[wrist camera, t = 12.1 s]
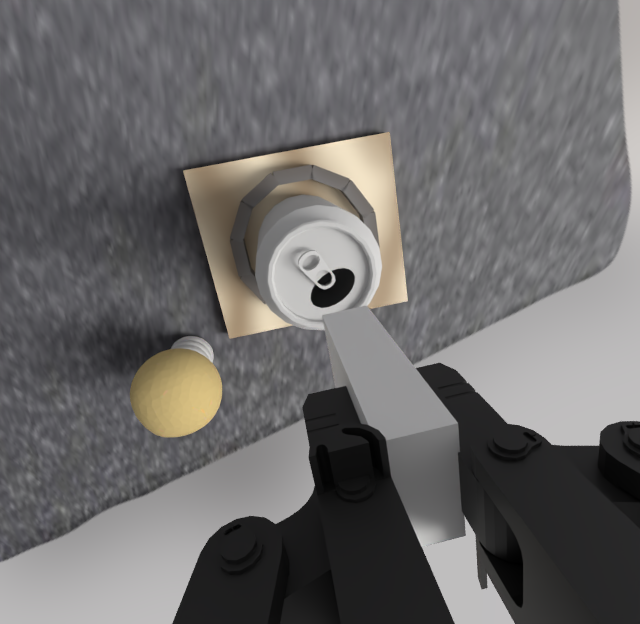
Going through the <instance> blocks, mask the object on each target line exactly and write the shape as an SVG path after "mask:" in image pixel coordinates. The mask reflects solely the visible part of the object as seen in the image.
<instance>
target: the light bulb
mask: <svg viewBox="0 0 640 624" xmlns="http://www.w3.org/2000/svg"><path fill="white" fill-rule="evenodd" d="M213 357H214V355H213V350H212V348H211V346H210V345H209V344H208V342H206V341H205V340H204V339H202V338H199V337H196V336H186V337H183V338H181V339H179V340H177V341H176V342H175V343H174V344H173V346H172V347H171V349H169V350H165V351H162V352H160V353H158V354H156V355H154V356H152V357H151V358H150V359H148V360H147V361H146V362H145V363H144V364H143V365H142V366H141V367H140V368H139V370H138V371H137V373H136V374H135V377H134V379H133V381H132V384H131V390H130V401H131V405H132V408H133V410H134V413H135V415H136V417H137V418H138V419H139V421H140V422H141V423H142V424H143V426H144V427H146V428H147V429H148V430H150V431H151V432H152V433H154V434H156V435H158V436H162V437H179V436H184V435H187V434H191V433H193V432H195V431H197V430H199V429H200V428H202V427H204V426H205V425H206V424H207V423H208V422H209V421H210V420H211V419H212V418H213V417H214V415H215V414H216V412H217V410H218V408H219V406H220V402H221V398H222V383H221V378H220V375H219V373H218V371H217V369H216V368H215V366H214V365H213V363H212V362H213Z"/></svg>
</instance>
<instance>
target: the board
mask: <svg viewBox="0 0 640 624" xmlns="http://www.w3.org/2000/svg"><path fill="white" fill-rule="evenodd" d="M183 173H184V176H185V180H186V183H187V187H188V191H189V194H190V198H191V201H192V205H193V209H194V212H195V216H196V219H197V223H198V227H199V230H200V234H201V237H202V241H203V245H204V248H205V252H206V255H207V259H208V263H209V266H210V270H211V273H212V277H213V280H214V284H215V288H216V291H217V295H218V298H219V302H220V306H221V309H222V313H223V316H224V320H225V324H226V327H227V331H228V334H229V338H235V337H240V336H245V335H249V334H254V333H259V332H263V331H268V330H273V329H278V328H282V327H287V326H292V324H289V323H286V322H285V321H283V320H282V319H281V318H280V317H278V316H277V315H276V314H275V313H273V312H272V311H271V310H270V309H269V307H268V305H267V304H266V302H265V301H264V299H263V298H262V296H261V295H260V292H259V288H258V284H257V281H256V277H255V270H256V255H257V245H258V235H259V230H260V227H261V225H262V222H263V220H264V217H265V216H266V215H267V214H268V213H269V211H270V210H271V209H272V208H273V207H274V206H275V205H276V204H278V203H280V202H281V201H283V200H285V199H286V198H289V197H293V196H298V195H302V194H303V195H312V196H318V197H321V198H323V199H325V200H327V201H329V202H331V203H333V204H335V205H337V206H339V207H340V208H342V209H344V210H346V211H348V212H350V213H352V214H353V215H355V216H357V217H358V218H359V219H360V220H361V221H362V222H363V223H364V224H365V225H366V226H367V227H368V228H369V229H370V230H371V232H372V234H373V236H374V238H375V240H376V242H377V244H378V246H379V249H380V255H381V262H382V270H381V276H380V283H379V286H378V288H377V290H376V292H375V294H374V296H373V298H372V300H371V302H370V303H369V304H368V308H369V309H372V308H377V307H382V306H386V305H391V304H396V303H400V302H405V301H408V299H407V290H406V281H405V271H404V262H403V253H402V243H401V234H400V225H399V215H398V206H397V197H396V187H395V178H394V169H393V159H392V150H391V141H390V132H387V133H381V134H376V135H371V136H365V137H360V138H355V139H349V140H344V141H339V142H333V143H328V144H323V145H317V146H312V147H307V148H301V149H296V150H291V151H285V152H280V153H275V154H269V155H264V156H258V157H253V158H248V159H242V160H237V161H232V162H226V163H221V164H216V165H210V166H205V167H200V168H194V169H189V170H184V171H183Z"/></svg>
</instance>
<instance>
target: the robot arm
mask: <svg viewBox="0 0 640 624" xmlns="http://www.w3.org/2000/svg"><path fill="white" fill-rule="evenodd" d="M322 318H323V323H324V329H325V334H326V340H327V345H328V350H329V356H330V361H331V366H332V372H333V377H334V382H335V388H334V389H330V390H325V391H321V392H317V393H312V394H308V396H307V399H306V401H305V403H304V405H303V413H304V418H305V423H306V429H307V434H308V440H309V446H310V450H309V461H310V465H311V470H312V474H313V478H314V483H315V487H314V491H313V494H312V495H311V497H310V498H309V500H308V502H307V503H306V504H305V505H304V506H303V507H302V508H301V509H300V510H299V511H297V512H296V513H294V514H293V515H291V516H290V517H288V518H286V519H285V520H283V521H281V522H279V523H277V524H274V523H273V522H271V521H270V520H268V519H266V518H264V517H255V516H249V517H245V518H240V519H236V520H234V521H232V522H230V523H228V524H227V525H224V526H223V527H221V528H220V529H219V530H218V531H217V532H216V533H215V534H214V535H213V536H212V537H210V538H209V540H208V541H207V543H206V545H205V546H204V548H203V550H202V551H201V553H200V556H199V558H198V561H197V563H196V565H195V568H194V571H193V573H192V576H191V578H190V581H189V583H188V586H187V588H186V591H185V593H184V596H183V598H182V601H181V603H180V606H179V608H178V611H177V613H176V616H175V619H174V621H173V624H454V621H453V619H452V617H451V614H450V612H449V610H448V607H447V605H446V603H445V600H444V598H443V596H442V593H441V591H440V589H439V587H438V584H437V582H436V580H435V577H434V575H433V573H432V570H431V568H430V565H429V563H428V561H427V559H426V556H425V554H424V552H423V549H422V547H424V546H428V545H432V544H435V543H439V542H443V541H447V540H451V539H454V538H459V537H462V536H465V535H466V534H465V520H464V515H465V517H466V519H467V521H468V522H469V524H470V526H471V527H472V529H473V531H474V532H475V534H476V550H477V566H478V567H477V568H478V579H479V582H480V585H481V588H482V589H485V588H487V574H488V576H489V578H490V579H491V581H492V583H493V585H494V587H495V588H496V590H497V592H498V594H499V595H500V597H501V599H502V601H503V603H504V604H505V606H506V608H507V610H508V612H509V614H510V615H511V617H512V619H513V620H514V623H515V624H640V422H638V421H627V422H626V421H625V422H618V423H614V424H611V425H608V426H607V427H606V428H604V429H603V430H602V431H601V433H600V444H599V446H559V445H551V444H550V443H549V442H548V441H547V440H546V439H545V438H544V437H542V436H541V435H539V434H538V433H536V432H535V431H533V430H531V429H528V428H525V427H522V426H519V425H512V424H507V423H506V422H505V421H504V420H503V419H502V418H501V416H500V415H499V414H498V413H497V412H496V411H495V410H494V409H493V408H492V407H491V406H490V405H489V404H488V403H487V402H486V401H485V400H484V399H483V398H482V397H481V396H480V395H479V394H478V393H476V392H475V390H474V388H473V387H472V386H471V385H470V384H469V383H467V382H466V380H465V379H464V378H463V377H462V376H461V375H460V374H459V373H458V372H457V371H456V370H454V369H452V368H450V367H448V366H445V365H443V364H441V363H437V364H433V365H428V366H424V367H419V368H415V367H414V366H413V364H412V363H411V362H410V360H409V359H408V358H407V357H406V355H405V354H404V353H403V351H402V350H401V349H400V348H399V346H398V345H397V344H396V342H395V341H394V340H393V339H392V337H391V336H390V335H389V333H388V332H387V331H386V329H385V328H384V327H383V326H382V324H381V323H380V322H379V320H378V319H377V318H376V317H375V315H374V314H373V313H372V311H371V310H370V309H369V308H368V306H367V305H366V306H362V307H357V308H352V309H348V310H343V311H339V312H334V313H329V314H325V315H322Z"/></svg>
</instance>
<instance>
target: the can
mask: <svg viewBox="0 0 640 624" xmlns="http://www.w3.org/2000/svg"><path fill="white" fill-rule="evenodd" d="M381 270H382V262H381V255H380V249H379V246H378V244H377V242H376V240H375V238H374V236H373V234H372V232H371V230H370V229H369V228H368V227H367V226H366V225H365V224H364V223H363V222H362V221H361V220H360V219H359V218H358V217H357V216H355V215H353V214H352V213H350V212H348V211H346V210H344V209H342V208H340V207H339V206H337V205H335V204H333V203H331V202H329V201H327V200H325V199H323V198H321V197H318V196H312V195H303V194H302V195H298V196H293V197H289V198H286V199H285V200H283V201H281V202H280V203H278V204H276V205H275V206H274V207H273V208H272V209H271V210H270V211H269V213H268V214H267V215H266V216H265V217H264V220H263V222H262V225H261V227H260V230H259V235H258V245H257V255H256V270H255V277H256V281H257V284H258V288H259V292H260V295H261V296H262V298H263V299H264V301H265V302H266V304H267V305H268V307H269V309H270V310H271V311H272V312H273V313H275V314H276V315H277V316H278V317H280V318H281V319H282V320H283V321H285V322H286V323H289V324H292V325H294V326H297V327H300V328H302V329H312V330H325V329H324V323H323V318H322V315H325V314H329V313H334V312H339V311H343V310H348V309H352V308H357V307H362V306H366V305H367V306H368V304H369V303H370V302H371V300H372V298H373V296H374V294H375V292H376V290H377V288H378V286H379V283H380V276H381Z"/></svg>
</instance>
